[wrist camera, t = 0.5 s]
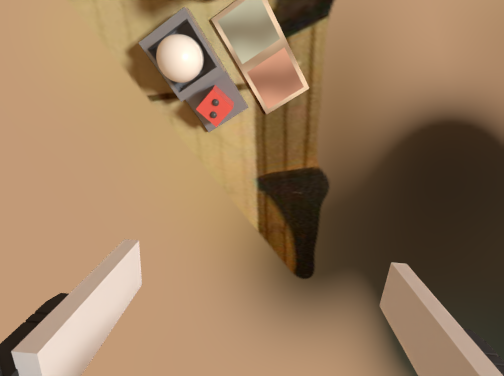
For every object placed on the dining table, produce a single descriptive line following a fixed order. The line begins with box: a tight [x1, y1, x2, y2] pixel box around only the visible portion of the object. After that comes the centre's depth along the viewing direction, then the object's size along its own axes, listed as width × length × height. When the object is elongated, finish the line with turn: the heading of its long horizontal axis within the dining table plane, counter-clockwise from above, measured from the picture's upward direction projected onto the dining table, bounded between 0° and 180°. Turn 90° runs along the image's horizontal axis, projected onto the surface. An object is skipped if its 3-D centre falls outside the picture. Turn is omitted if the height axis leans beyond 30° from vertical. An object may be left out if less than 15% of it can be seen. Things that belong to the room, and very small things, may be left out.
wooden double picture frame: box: [211, 0, 309, 114], centre depth 31 cm, size 12×6×1 cm, turn 31°
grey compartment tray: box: [139, 7, 248, 132], centre depth 30 cm, size 12×6×4 cm, turn 32°
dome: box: [156, 34, 204, 83], centre depth 27 cm, size 4×4×4 cm
